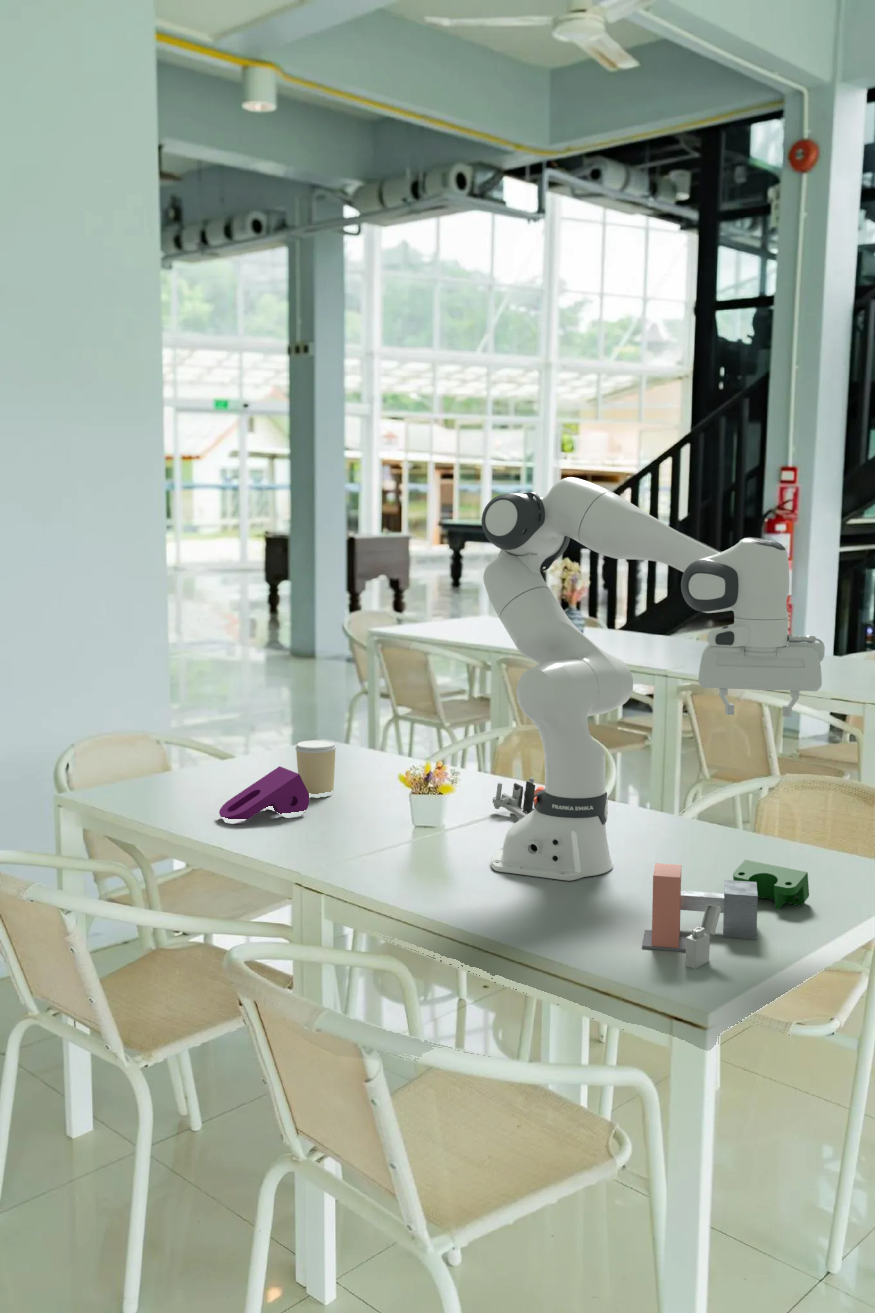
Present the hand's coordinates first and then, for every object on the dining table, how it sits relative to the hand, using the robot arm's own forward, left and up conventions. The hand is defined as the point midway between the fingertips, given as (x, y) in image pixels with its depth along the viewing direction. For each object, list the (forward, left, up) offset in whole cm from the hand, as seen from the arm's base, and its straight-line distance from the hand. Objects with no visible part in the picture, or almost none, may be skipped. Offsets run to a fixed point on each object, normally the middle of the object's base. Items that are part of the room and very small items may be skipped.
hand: (758, 715), depth 202 cm
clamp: (+3, -5, -32) cm, 32 cm away
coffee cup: (-97, +50, -31) cm, 114 cm away
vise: (-8, -20, -31) cm, 38 cm away
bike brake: (-43, +41, -32) cm, 67 cm away
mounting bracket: (-102, +28, -32) cm, 111 cm away
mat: (-14, -27, -31) cm, 44 cm away
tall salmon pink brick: (-14, -27, -31) cm, 43 cm away
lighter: (-8, -34, -31) cm, 47 cm away
